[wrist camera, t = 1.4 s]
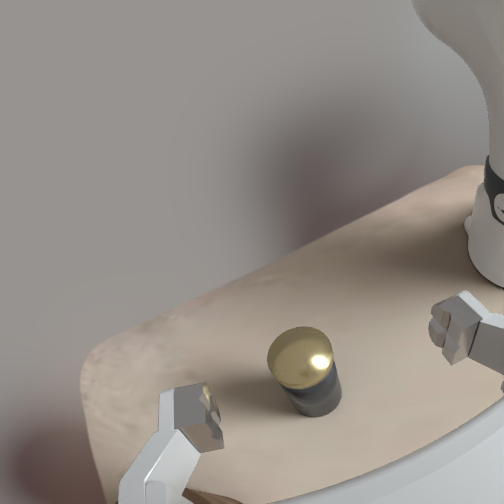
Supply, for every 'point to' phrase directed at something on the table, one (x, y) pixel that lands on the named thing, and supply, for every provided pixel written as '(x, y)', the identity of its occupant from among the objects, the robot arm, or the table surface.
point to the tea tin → (306, 370)
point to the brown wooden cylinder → (205, 498)
